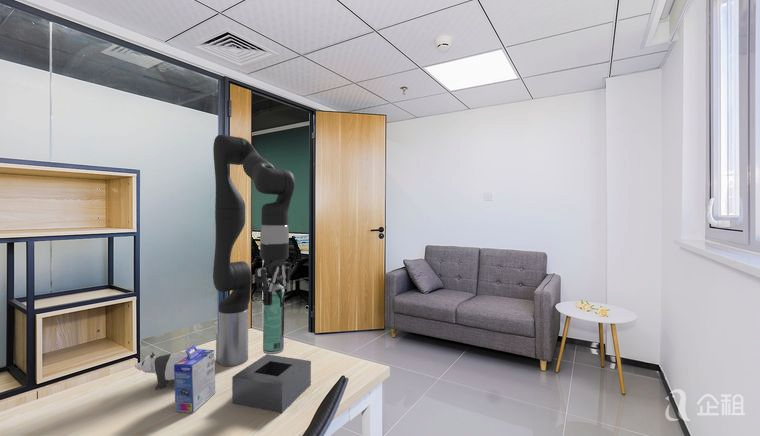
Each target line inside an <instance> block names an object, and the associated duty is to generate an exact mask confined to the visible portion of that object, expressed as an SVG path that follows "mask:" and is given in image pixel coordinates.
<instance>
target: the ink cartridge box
mask: <svg viewBox="0 0 760 436" xmlns="http://www.w3.org/2000/svg"><path fill="white" fill-rule="evenodd" d="M191 350H194V351H193V352H192V353H190V352H191ZM184 352H186V353H187V357H185V358H184V359H182V360H181V361H179V362H178V363H176V364H175V365H174V379H173V380H174V401H175V403H174V404H175V408H174V409H175V412H181V413H190V414H192V413H195V412H196V411H197V410H198V409H199V408H200V407H202V405H204V404H205V403H206V402H207V401H208V400H209V399H210V398H211V397H213V395H215V394H216V369H215V368H216V367H215V365H216V364H215V363H216V355H215V350H214V349H202V348H199V349H197V347H196V346H195V344H194V345H191V346H190V347H188V348H186V349H185V351H184ZM189 353H190V354H189Z"/></svg>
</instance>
